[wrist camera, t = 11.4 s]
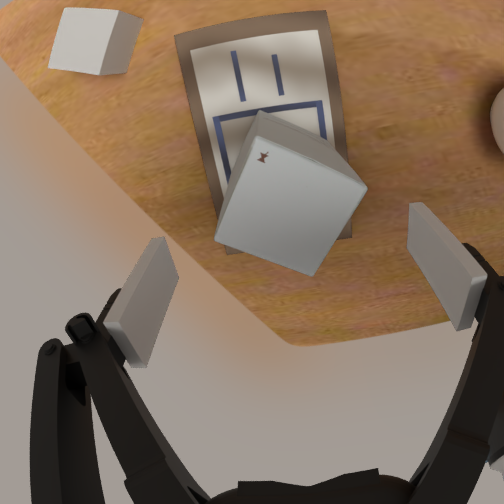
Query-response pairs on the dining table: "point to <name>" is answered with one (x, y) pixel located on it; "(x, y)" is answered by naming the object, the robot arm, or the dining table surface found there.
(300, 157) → the supplement box
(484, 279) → the robot arm
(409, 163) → the dining table surface
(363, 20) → the dining table surface
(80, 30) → the gray cube
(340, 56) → the dining table surface
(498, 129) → the lidded jar
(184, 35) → the brown framed board
